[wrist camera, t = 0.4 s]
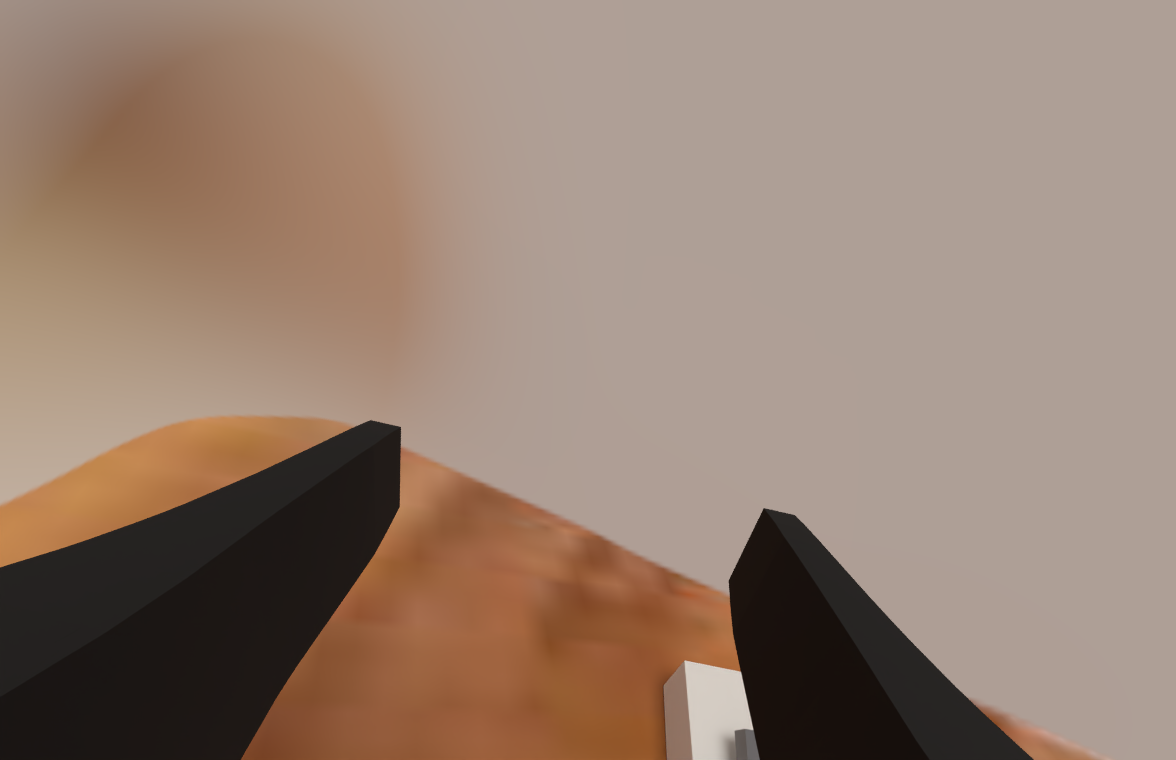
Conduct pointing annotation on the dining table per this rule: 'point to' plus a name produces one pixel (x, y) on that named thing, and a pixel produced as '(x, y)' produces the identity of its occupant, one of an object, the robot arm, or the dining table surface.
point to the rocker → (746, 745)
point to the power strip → (704, 712)
